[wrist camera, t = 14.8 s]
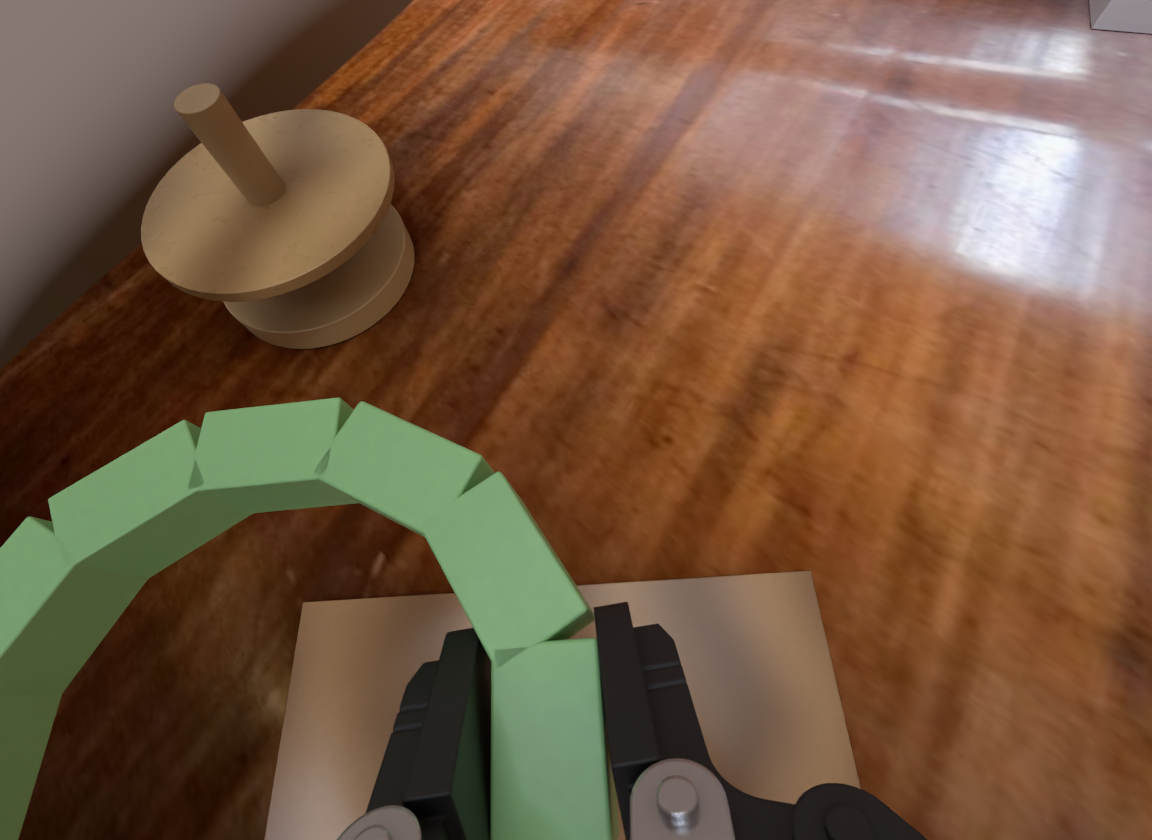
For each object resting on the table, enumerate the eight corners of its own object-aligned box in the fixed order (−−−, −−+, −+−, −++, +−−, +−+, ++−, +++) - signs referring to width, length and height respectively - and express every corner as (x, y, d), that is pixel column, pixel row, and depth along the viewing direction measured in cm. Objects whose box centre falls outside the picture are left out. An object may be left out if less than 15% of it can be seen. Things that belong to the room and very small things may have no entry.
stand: (198, 372, 28) (-8, 224, 19) (247, 206, 33) (103, 27, 24) (421, 352, 27) (318, 189, 18) (436, 186, 32) (361, -6, 23)
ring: (-219, 1281, 9) (-433, 1432, 7) (69, 462, 15) (-9, 434, 13) (655, 1307, 8) (658, 1495, 6) (587, 407, 14) (578, 369, 12)
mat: (220, 1148, 16) (211, 1159, 15) (307, 603, 22) (302, 602, 22) (938, 1145, 15) (946, 1157, 14) (807, 572, 21) (811, 570, 21)
